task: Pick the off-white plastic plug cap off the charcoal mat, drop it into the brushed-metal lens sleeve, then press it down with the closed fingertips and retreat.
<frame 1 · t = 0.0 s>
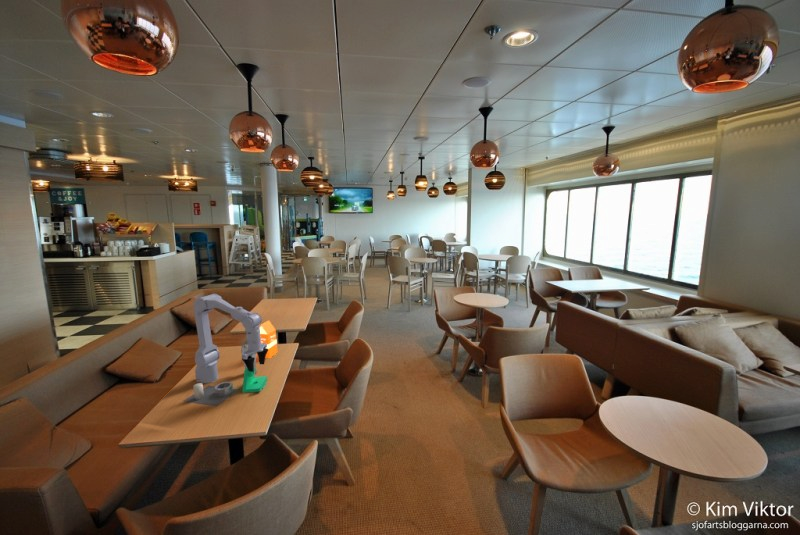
hand: (256, 367, 155), 10 cm above the table, tool pointing down, fingers open, 7 cm apart
plug cap: (199, 397, 147), point 1 cm above the table, touching mat
mat: (212, 397, 149), on the table
lens sleeve: (224, 394, 151), resting on mat
orange juice: (267, 355, 194), on the table
beer glass: (251, 373, 172), on the table
camera mount: (256, 388, 157), on the table
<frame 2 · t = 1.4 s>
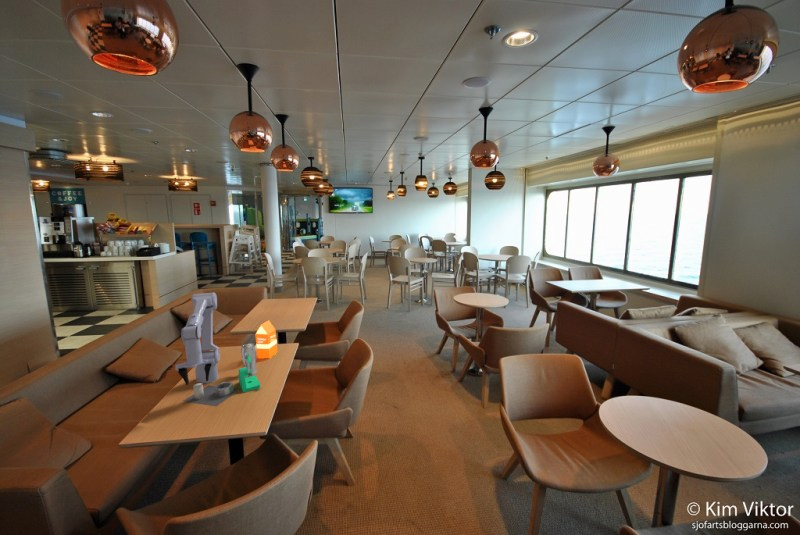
hand: (197, 382, 146), 8 cm above the table, tool pointing down, fingers open, 7 cm apart
camera mount: (250, 387, 158), on the table
everything else where it was.
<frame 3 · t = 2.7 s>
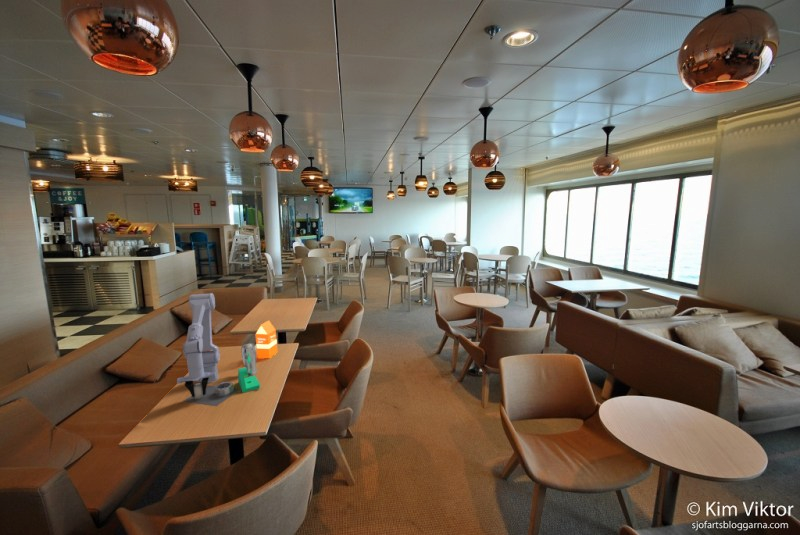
hand: (199, 395, 147), 2 cm above the table, tool pointing down, fingers closed on plug cap, 4 cm apart
plug cap: (199, 397, 147), point 1 cm above the table, touching gripper, mat
everything else where it was.
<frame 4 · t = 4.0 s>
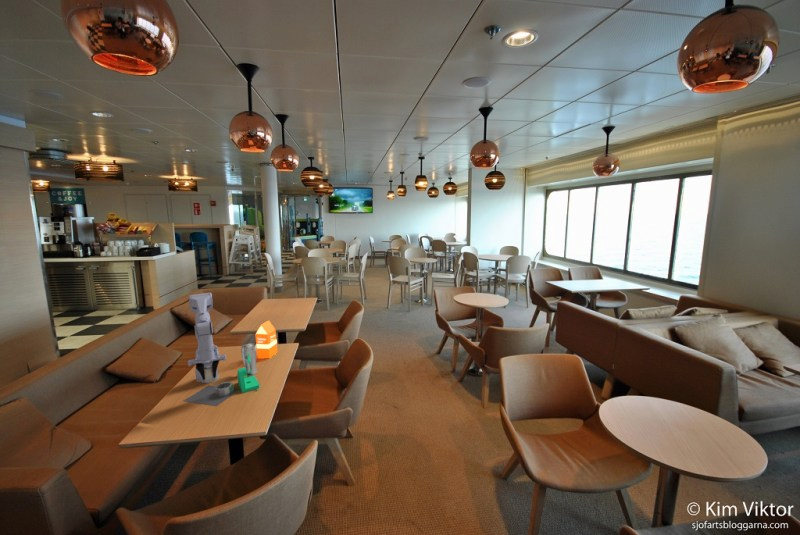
hand: (209, 377, 148), 9 cm above the table, tool pointing down, fingers closed on plug cap, 4 cm apart
plug cap: (209, 380, 148), point 8 cm above the table, touching gripper
everything else where it was.
when the fingers open (5 cm above the table, at t = 5.6 s): plug cap drops 2 cm, resting on mat.
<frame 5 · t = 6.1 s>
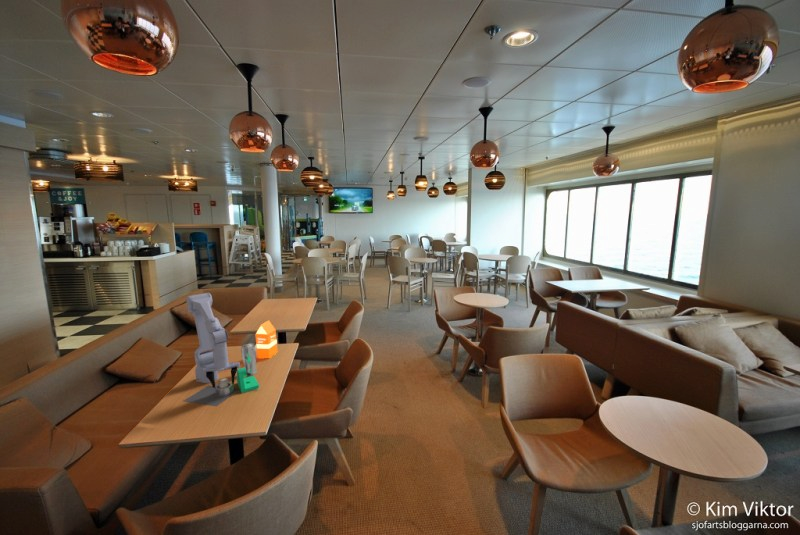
hand: (223, 384, 150), 5 cm above the table, tool pointing down, fingers open, 7 cm apart
plug cap: (224, 392, 151), point 1 cm above the table, touching mat
everything else where it was.
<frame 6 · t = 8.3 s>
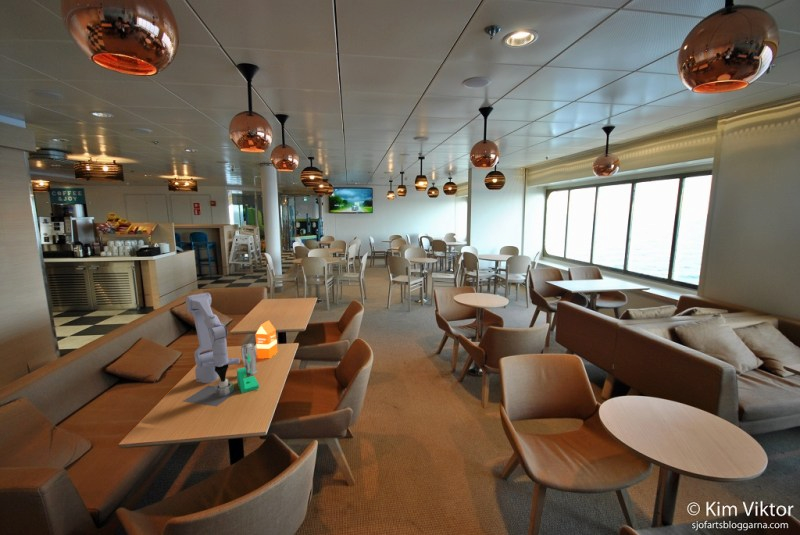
hand: (223, 380, 150), 7 cm above the table, tool pointing down, fingers closed, pressing on plug cap
plug cap: (224, 392, 151), point 1 cm above the table, touching gripper, mat
everything else where it was.
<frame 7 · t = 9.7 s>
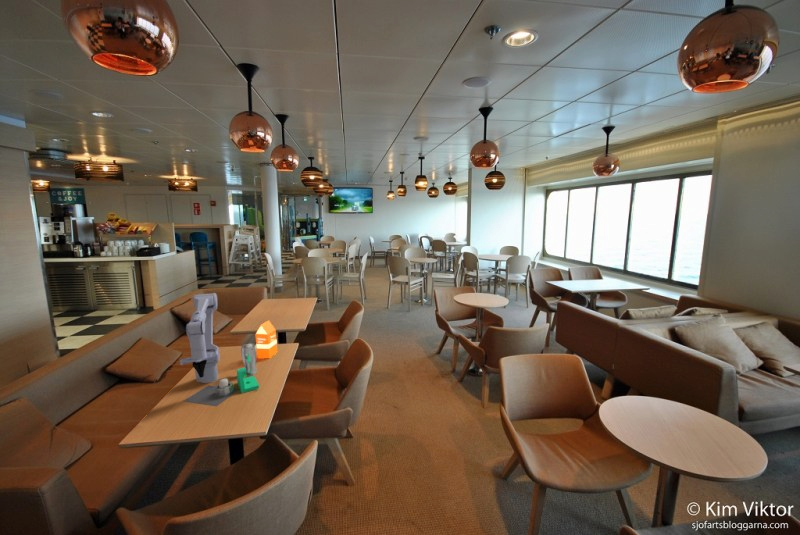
hand: (201, 376, 149), 9 cm above the table, tool pointing down, fingers closed
plug cap: (224, 392, 151), point 1 cm above the table, touching mat
everything else where it was.
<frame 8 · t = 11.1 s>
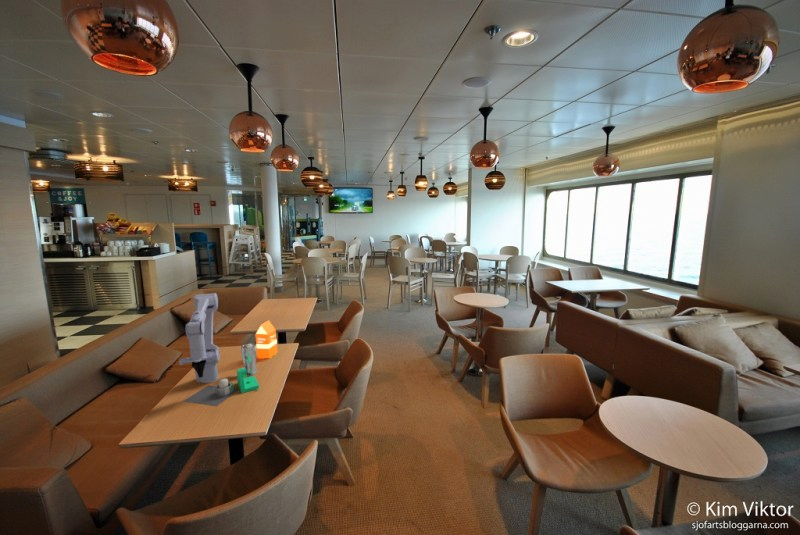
hand: (201, 376, 149), 9 cm above the table, tool pointing down, fingers closed
nothing on the table moved.
at the end: plug cap 0.1 cm off-centre on the lens sleeve, point 1.0 cm above the lens sleeve's base; plug cap tilted 0°; the gripper is holding nothing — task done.
